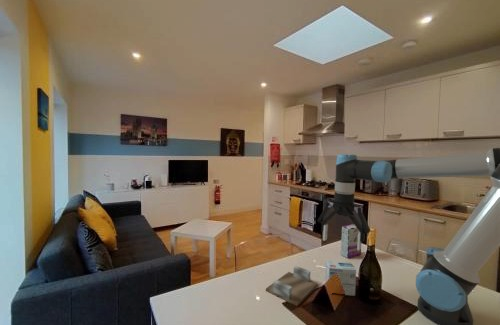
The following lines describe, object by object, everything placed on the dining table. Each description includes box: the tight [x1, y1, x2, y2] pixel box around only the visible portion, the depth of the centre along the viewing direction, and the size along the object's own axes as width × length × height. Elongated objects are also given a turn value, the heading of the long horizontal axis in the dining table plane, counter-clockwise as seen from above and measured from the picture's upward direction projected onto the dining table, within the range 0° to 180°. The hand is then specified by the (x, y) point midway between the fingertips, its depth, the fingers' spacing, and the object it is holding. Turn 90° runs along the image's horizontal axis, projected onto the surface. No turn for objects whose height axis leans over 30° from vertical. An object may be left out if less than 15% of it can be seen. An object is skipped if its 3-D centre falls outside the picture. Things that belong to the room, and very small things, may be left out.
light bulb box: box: [324, 260, 357, 297], centre depth 96 cm, size 11×7×11 cm, turn 84°
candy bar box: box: [340, 223, 362, 259], centre depth 131 cm, size 11×5×16 cm, turn 119°
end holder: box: [265, 265, 319, 307], centre depth 97 cm, size 14×18×5 cm
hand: (341, 244), depth 96 cm, fingers open, 13 cm apart
